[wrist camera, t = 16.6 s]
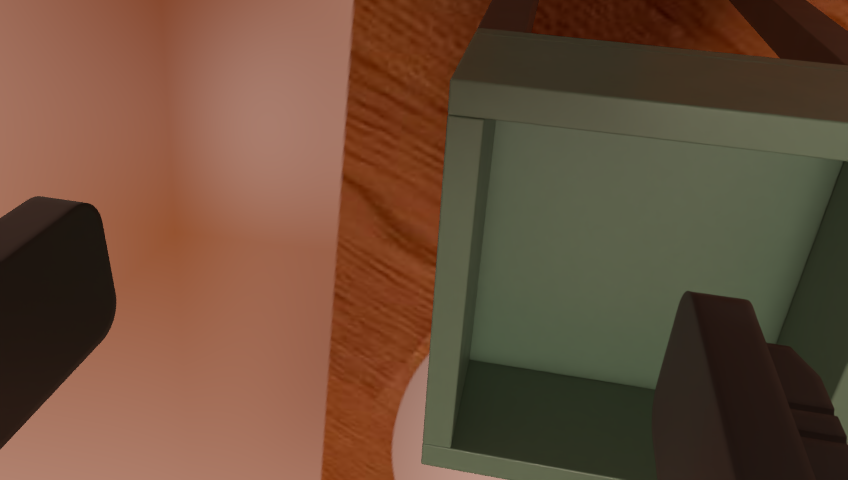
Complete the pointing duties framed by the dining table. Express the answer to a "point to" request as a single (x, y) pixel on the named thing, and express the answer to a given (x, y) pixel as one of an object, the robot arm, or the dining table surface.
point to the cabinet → (626, 230)
